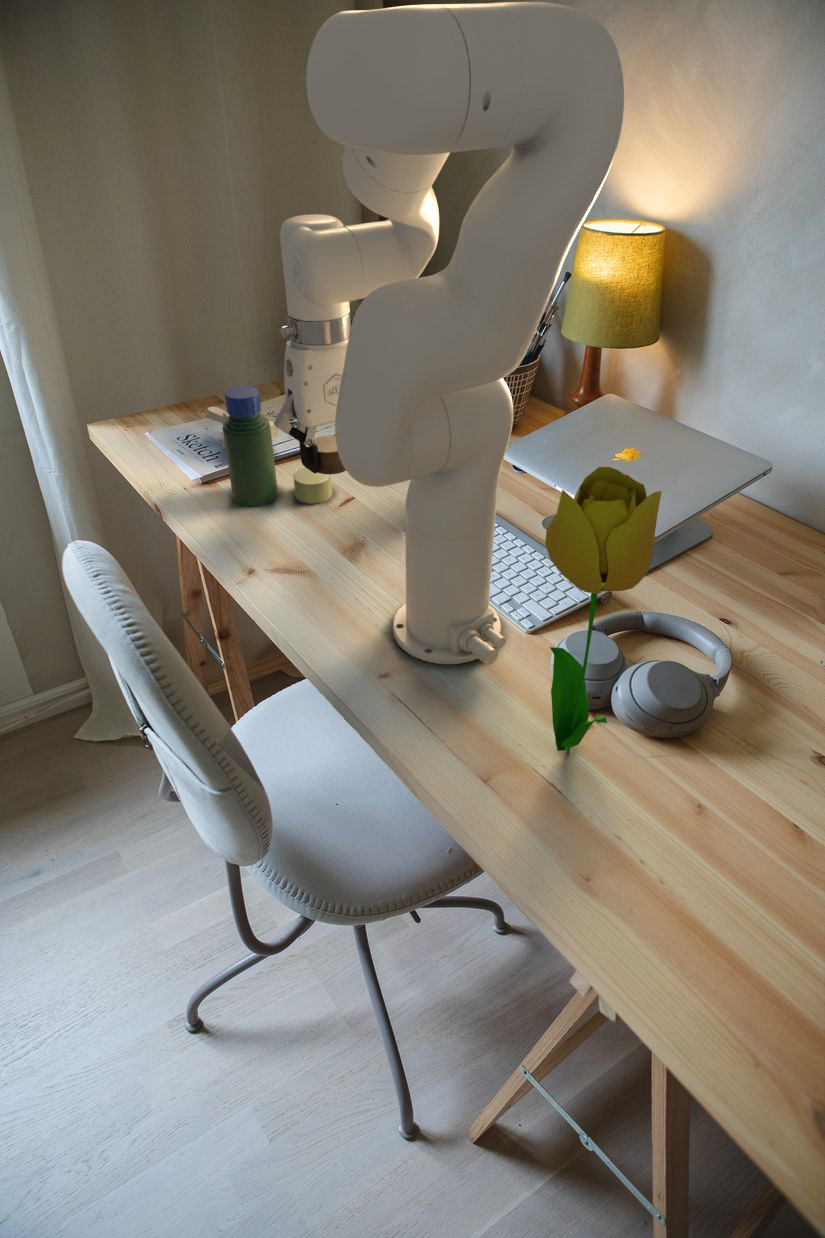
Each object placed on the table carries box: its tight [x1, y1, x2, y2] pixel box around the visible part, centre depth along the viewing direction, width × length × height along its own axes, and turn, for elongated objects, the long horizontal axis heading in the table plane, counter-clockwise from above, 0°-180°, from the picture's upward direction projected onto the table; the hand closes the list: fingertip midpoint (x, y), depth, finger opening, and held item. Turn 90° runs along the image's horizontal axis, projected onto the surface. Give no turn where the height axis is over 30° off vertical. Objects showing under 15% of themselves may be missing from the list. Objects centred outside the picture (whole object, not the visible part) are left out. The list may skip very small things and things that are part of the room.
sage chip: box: [293, 467, 333, 505], centre depth 121 cm, size 5×5×3 cm
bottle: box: [221, 412, 279, 507], centre depth 117 cm, size 7×7×15 cm
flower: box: [544, 466, 662, 753], centre depth 73 cm, size 9×8×30 cm
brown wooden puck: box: [313, 434, 347, 475], centre depth 111 cm, size 5×5×3 cm
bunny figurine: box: [205, 406, 279, 450], centre depth 135 cm, size 10×5×15 cm
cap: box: [224, 385, 262, 418], centre depth 113 cm, size 5×5×3 cm
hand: (330, 461), depth 111 cm, fingers closed on brown wooden puck, 5 cm apart
